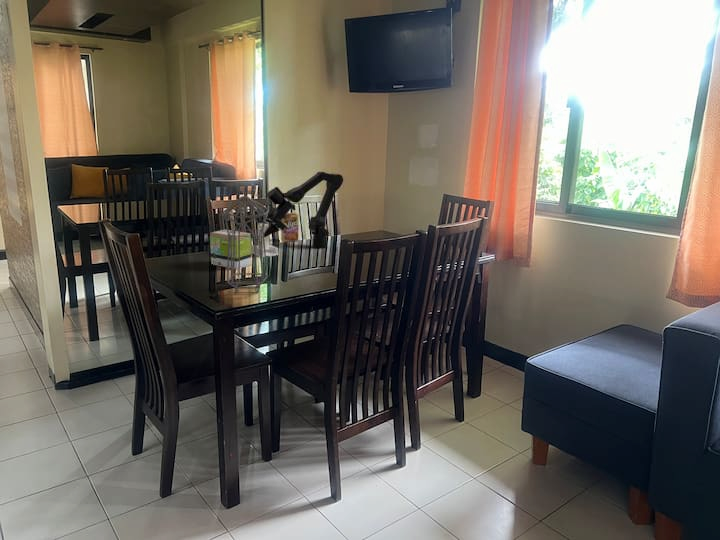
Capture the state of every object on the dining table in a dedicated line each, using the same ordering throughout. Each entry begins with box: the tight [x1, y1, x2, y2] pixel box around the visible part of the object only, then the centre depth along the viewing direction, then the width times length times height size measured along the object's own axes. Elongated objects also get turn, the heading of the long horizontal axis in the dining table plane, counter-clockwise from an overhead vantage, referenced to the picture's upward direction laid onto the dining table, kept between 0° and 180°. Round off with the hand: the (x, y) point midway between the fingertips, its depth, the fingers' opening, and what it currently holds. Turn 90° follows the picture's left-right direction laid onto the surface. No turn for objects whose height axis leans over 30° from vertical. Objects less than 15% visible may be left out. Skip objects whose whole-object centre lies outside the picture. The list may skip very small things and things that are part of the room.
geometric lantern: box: [219, 195, 269, 294], centre depth 190 cm, size 16×16×35 cm
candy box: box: [280, 212, 300, 243], centre depth 284 cm, size 9×4×15 cm, turn 109°
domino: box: [257, 222, 270, 250], centre depth 253 cm, size 6×3×12 cm, turn 35°
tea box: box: [209, 228, 252, 270], centre depth 230 cm, size 15×10×15 cm
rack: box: [251, 244, 279, 258], centre depth 254 cm, size 13×9×4 cm
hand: (260, 235), depth 252 cm, fingers closed on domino, 6 cm apart
